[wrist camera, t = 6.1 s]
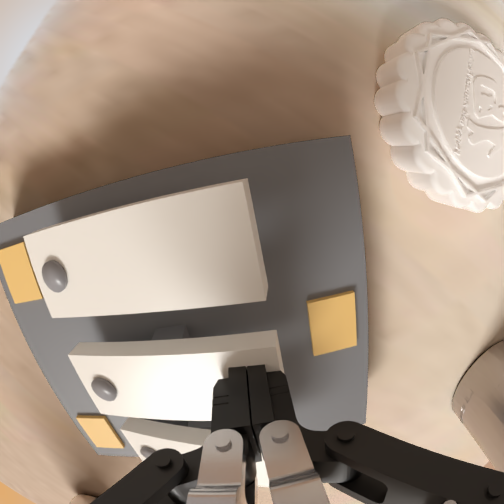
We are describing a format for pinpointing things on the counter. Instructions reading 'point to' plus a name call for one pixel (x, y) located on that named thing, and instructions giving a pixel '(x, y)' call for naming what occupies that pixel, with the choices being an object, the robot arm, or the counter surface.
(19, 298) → the switch console
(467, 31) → the mooncake
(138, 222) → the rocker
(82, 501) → the plastic bottle
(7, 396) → the counter surface
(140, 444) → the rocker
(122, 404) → the plate
